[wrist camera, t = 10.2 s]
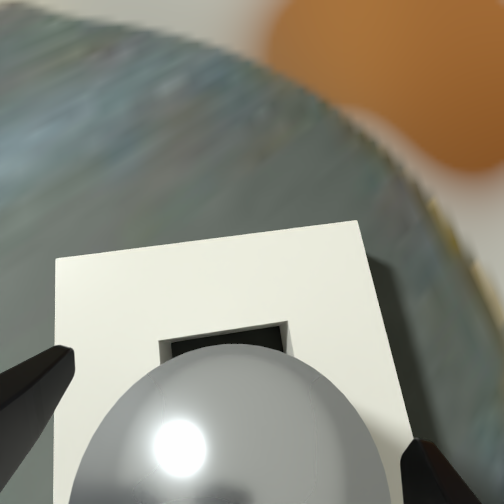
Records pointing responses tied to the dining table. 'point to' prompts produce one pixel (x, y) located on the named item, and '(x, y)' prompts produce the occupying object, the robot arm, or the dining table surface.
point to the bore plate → (225, 325)
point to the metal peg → (232, 437)
